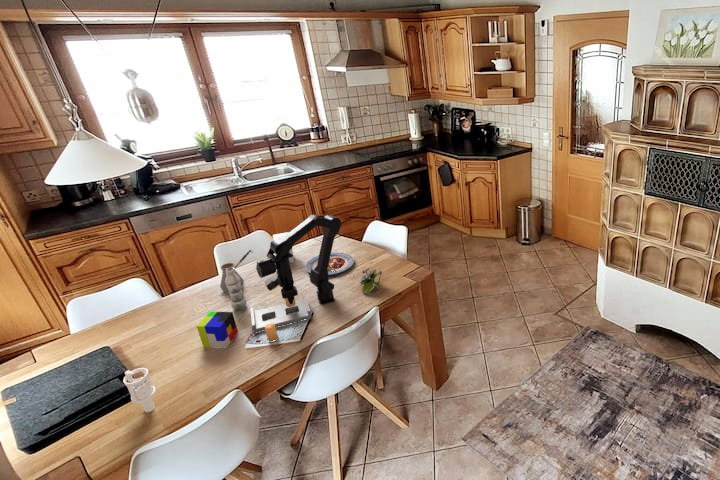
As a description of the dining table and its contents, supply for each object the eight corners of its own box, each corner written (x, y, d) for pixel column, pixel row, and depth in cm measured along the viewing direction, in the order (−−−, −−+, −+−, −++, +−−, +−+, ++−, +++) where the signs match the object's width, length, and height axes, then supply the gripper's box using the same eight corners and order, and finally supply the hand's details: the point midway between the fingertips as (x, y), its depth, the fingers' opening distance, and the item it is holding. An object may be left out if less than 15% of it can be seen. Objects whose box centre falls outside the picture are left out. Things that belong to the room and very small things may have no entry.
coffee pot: (230, 297, 192) (223, 269, 186) (216, 291, 198) (209, 264, 192) (264, 277, 207) (258, 251, 201) (250, 272, 213) (244, 247, 207)
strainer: (149, 398, 134) (134, 363, 128) (166, 401, 132) (151, 366, 126) (132, 415, 128) (116, 379, 122) (150, 418, 126) (134, 382, 120)
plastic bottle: (250, 305, 183) (240, 266, 175) (240, 313, 177) (230, 273, 169) (239, 303, 185) (229, 265, 177) (229, 311, 180) (218, 272, 172)
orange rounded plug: (277, 334, 159) (274, 322, 157) (278, 340, 156) (275, 328, 153) (267, 337, 159) (264, 325, 156) (268, 343, 155) (265, 330, 153)
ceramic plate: (312, 256, 224) (311, 251, 223) (357, 254, 220) (356, 249, 219) (300, 279, 201) (299, 274, 200) (350, 277, 197) (349, 272, 196)
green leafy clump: (368, 295, 190) (371, 270, 192) (386, 297, 183) (389, 271, 185) (353, 292, 182) (356, 266, 184) (371, 294, 175) (375, 267, 177)
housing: (306, 302, 180) (304, 294, 178) (311, 318, 167) (310, 310, 166) (252, 315, 174) (250, 308, 173) (254, 333, 162) (251, 325, 160)
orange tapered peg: (294, 300, 172) (292, 288, 170) (296, 305, 169) (293, 293, 166) (285, 303, 171) (283, 291, 169) (286, 307, 168) (284, 295, 165)
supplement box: (277, 258, 226) (272, 234, 220) (293, 255, 228) (288, 231, 222) (278, 265, 218) (273, 240, 212) (294, 262, 219) (289, 237, 213)
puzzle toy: (226, 348, 155) (219, 327, 151) (203, 347, 157) (196, 326, 153) (238, 332, 164) (232, 312, 160) (216, 331, 166) (210, 311, 162)
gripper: (262, 264, 170) (269, 295, 176) (265, 283, 153) (273, 317, 159) (288, 258, 172) (294, 289, 178) (294, 277, 156) (301, 310, 162)
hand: (290, 301), depth 169 cm, fingers closed on orange tapered peg, 4 cm apart
